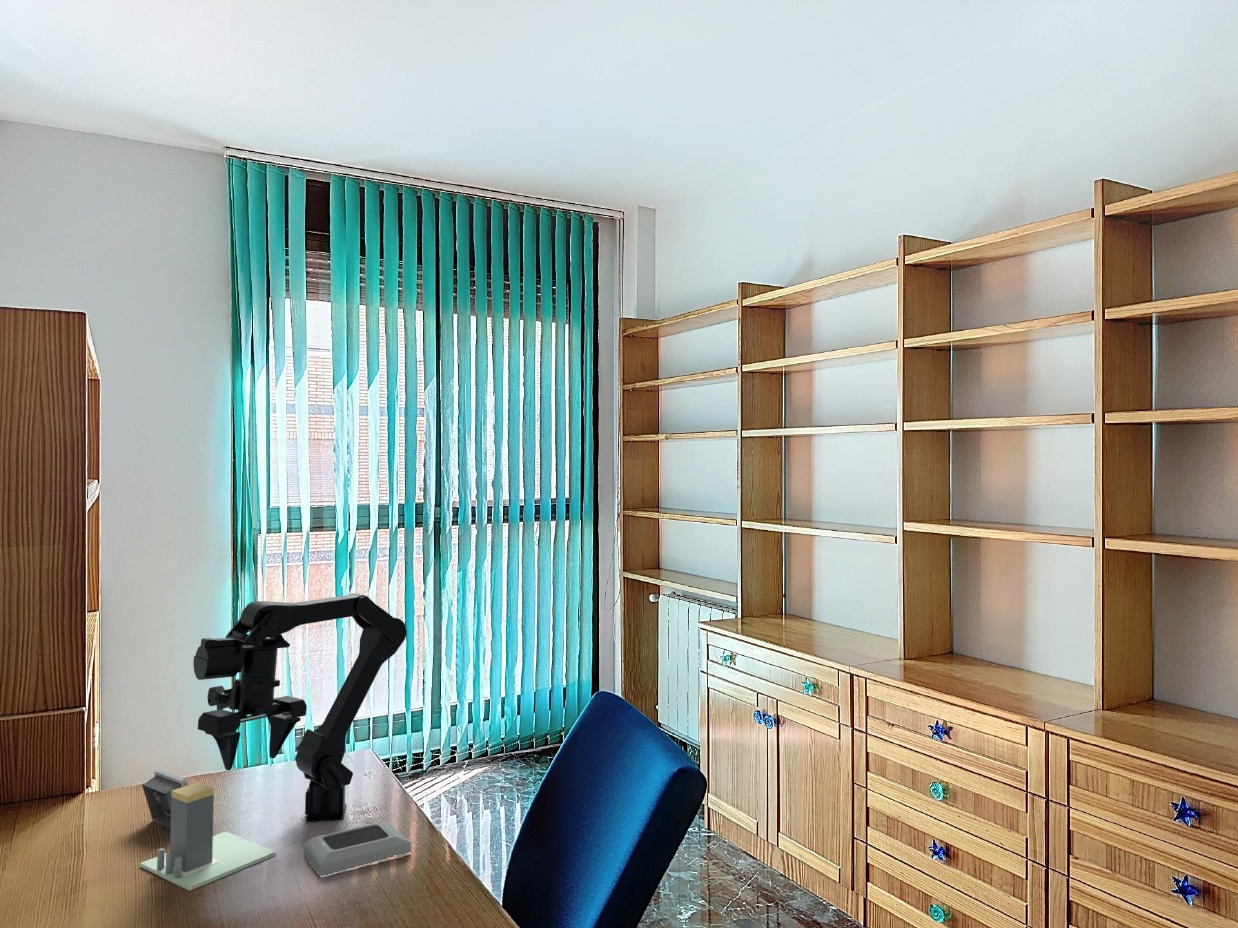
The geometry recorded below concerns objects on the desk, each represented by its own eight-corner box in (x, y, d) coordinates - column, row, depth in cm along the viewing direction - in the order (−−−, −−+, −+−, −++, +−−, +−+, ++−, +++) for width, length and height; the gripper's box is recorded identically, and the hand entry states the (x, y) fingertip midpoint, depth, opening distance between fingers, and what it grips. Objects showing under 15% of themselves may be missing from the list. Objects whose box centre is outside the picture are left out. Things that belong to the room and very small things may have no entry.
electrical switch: (199, 825, 158) (195, 775, 157) (171, 837, 153) (167, 786, 153) (170, 813, 163) (166, 765, 162) (142, 825, 158) (138, 775, 158)
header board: (225, 834, 154) (226, 814, 154) (275, 855, 146) (275, 833, 146) (140, 866, 141) (140, 844, 141) (189, 890, 134) (189, 867, 134)
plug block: (196, 854, 144) (197, 782, 144) (212, 861, 142) (213, 788, 142) (169, 864, 140) (171, 790, 140) (185, 872, 138) (187, 796, 138)
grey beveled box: (411, 835, 147) (321, 857, 139) (410, 857, 147) (320, 880, 139) (390, 816, 155) (304, 835, 146) (390, 837, 155) (303, 857, 146)
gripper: (270, 661, 166) (263, 744, 165) (180, 674, 149) (172, 767, 148) (311, 669, 160) (305, 755, 160) (223, 684, 144) (215, 780, 143)
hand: (250, 763), depth 153 cm, fingers open, 9 cm apart
